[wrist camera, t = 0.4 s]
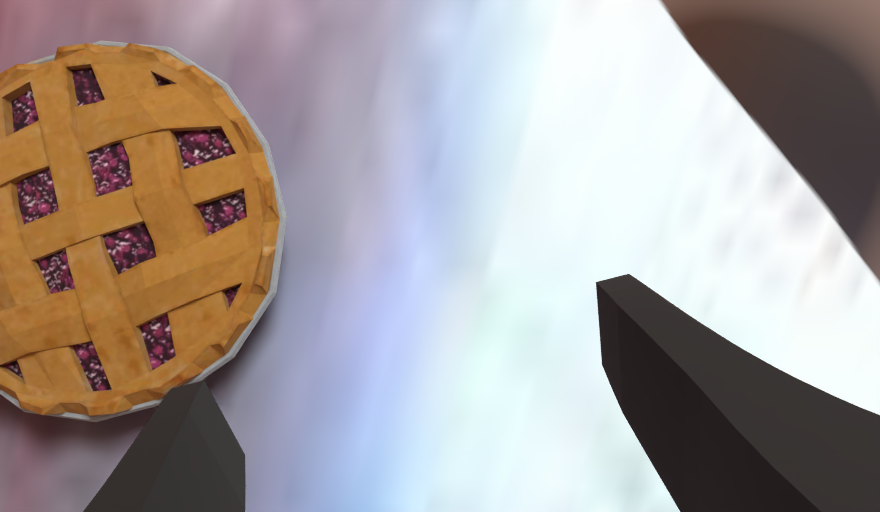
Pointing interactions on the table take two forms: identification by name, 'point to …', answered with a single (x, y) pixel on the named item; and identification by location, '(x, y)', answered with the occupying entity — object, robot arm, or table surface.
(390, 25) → the table surface
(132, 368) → the pie
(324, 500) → the table surface
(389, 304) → the table surface
